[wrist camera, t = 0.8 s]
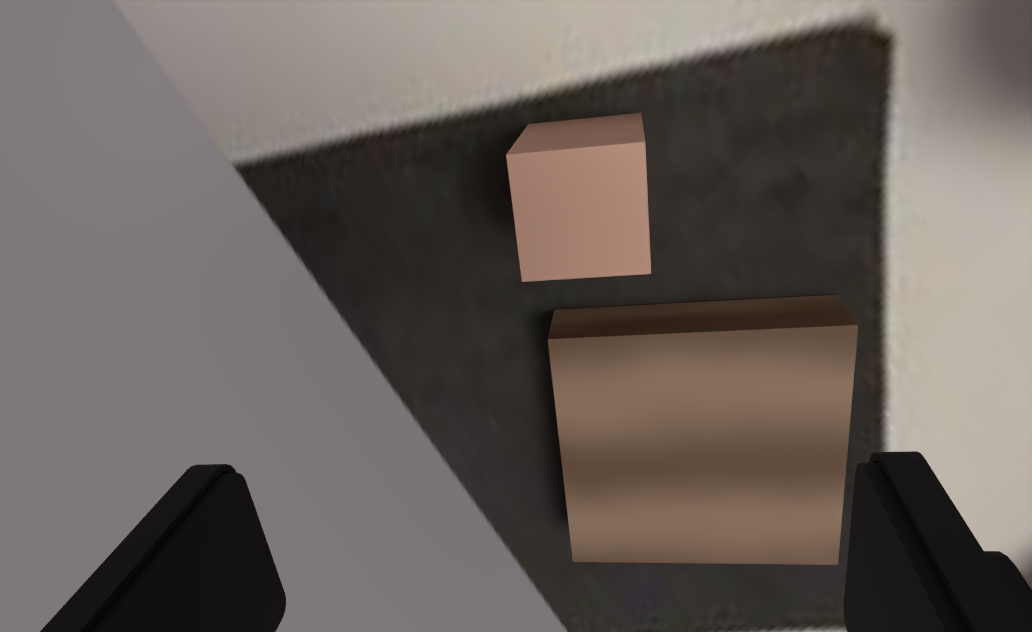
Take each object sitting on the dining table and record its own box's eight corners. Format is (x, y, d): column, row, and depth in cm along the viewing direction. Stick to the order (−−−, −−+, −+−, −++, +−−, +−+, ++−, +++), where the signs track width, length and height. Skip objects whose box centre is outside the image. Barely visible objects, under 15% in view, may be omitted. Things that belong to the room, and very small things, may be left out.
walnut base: (554, 309, 32) (547, 339, 29) (836, 294, 29) (858, 325, 27) (576, 519, 36) (573, 561, 34) (821, 519, 34) (837, 564, 32)
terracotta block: (528, 124, 28) (505, 154, 23) (640, 112, 28) (645, 141, 22) (540, 230, 30) (522, 281, 25) (646, 222, 29) (651, 273, 24)
